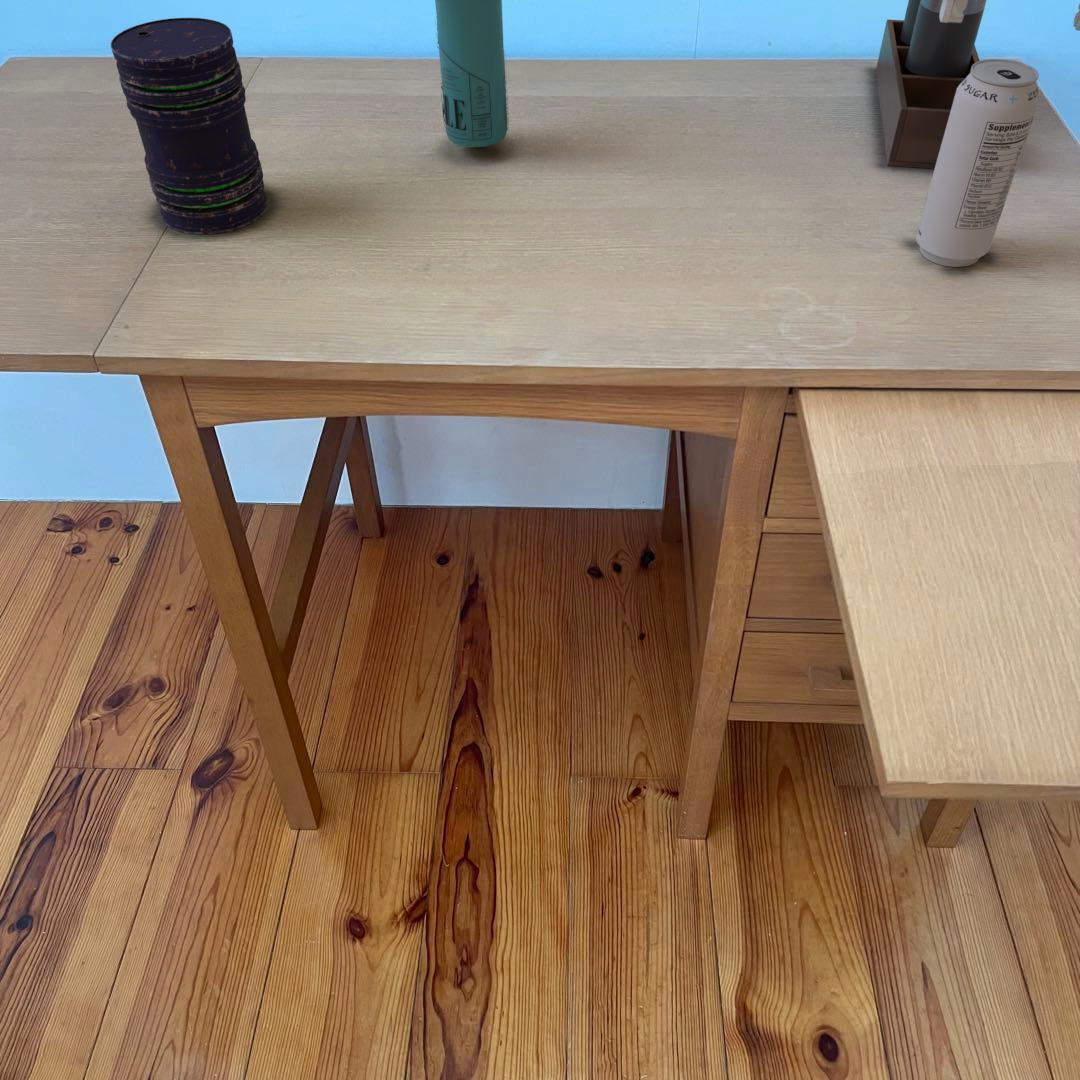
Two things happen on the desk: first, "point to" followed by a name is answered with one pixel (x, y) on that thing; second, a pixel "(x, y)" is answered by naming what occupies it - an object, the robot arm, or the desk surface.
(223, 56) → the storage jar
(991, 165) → the energy drink can
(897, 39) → the can rack
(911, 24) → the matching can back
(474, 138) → the beverage bottle
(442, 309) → the desk surface
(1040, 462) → the desk surface
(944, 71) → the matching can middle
